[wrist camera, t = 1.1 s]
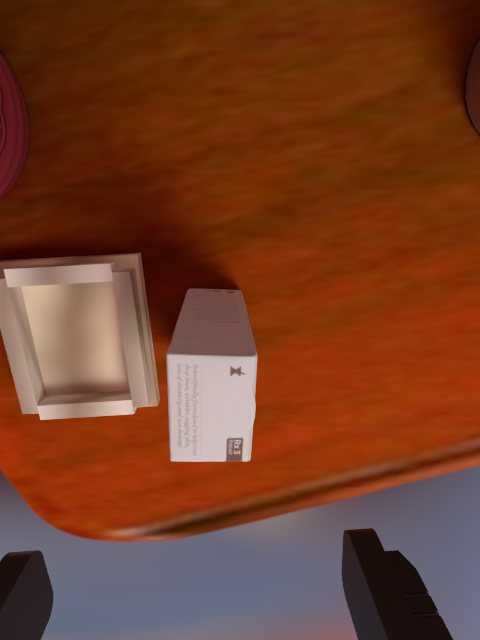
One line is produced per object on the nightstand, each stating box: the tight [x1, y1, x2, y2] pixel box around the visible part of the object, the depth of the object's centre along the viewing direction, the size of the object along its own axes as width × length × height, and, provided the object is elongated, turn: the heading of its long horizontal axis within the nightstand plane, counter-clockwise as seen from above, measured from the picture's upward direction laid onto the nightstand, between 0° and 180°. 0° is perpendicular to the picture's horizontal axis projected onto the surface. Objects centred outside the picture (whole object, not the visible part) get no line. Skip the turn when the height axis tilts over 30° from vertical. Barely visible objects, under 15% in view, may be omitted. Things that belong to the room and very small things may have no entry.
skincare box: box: [166, 288, 257, 462], centre depth 23 cm, size 6×4×12 cm
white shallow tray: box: [0, 253, 160, 420], centre depth 27 cm, size 10×12×2 cm
